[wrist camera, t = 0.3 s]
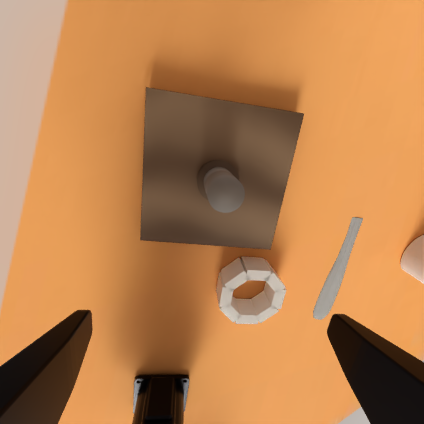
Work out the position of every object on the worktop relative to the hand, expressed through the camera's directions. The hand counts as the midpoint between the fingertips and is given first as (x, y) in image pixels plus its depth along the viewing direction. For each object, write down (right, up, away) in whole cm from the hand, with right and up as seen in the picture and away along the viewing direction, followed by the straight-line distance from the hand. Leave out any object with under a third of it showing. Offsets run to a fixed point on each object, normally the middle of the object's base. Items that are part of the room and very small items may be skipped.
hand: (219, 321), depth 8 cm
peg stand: (0, +7, +12) cm, 14 cm away
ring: (+4, -4, +16) cm, 17 cm away
